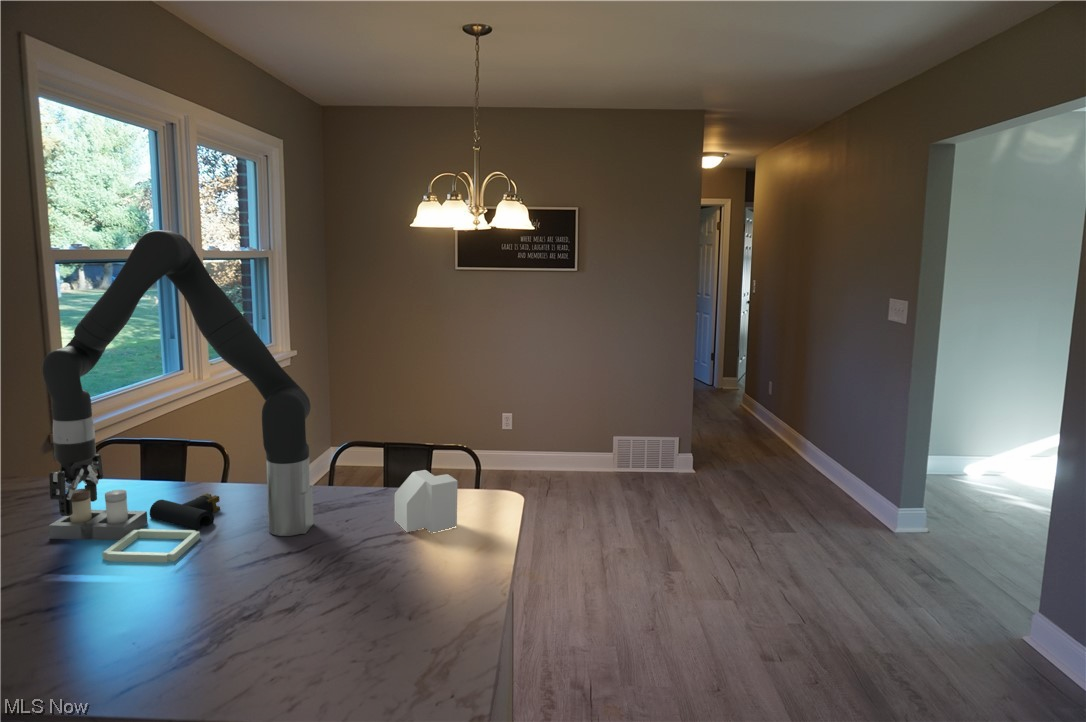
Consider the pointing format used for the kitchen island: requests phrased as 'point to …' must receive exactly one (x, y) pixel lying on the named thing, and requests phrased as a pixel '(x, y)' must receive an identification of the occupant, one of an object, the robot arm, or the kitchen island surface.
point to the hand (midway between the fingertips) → (79, 507)
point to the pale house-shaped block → (426, 502)
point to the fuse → (116, 506)
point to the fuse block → (97, 527)
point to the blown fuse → (81, 506)
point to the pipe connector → (187, 511)
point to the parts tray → (116, 555)
